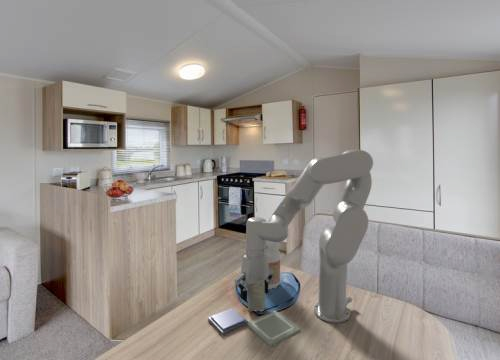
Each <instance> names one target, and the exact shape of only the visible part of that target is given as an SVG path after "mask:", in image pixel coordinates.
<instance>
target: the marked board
mask: <svg viewBox="0 0 500 360" xmlns="http://www.w3.org/2000/svg"><path fill="white" fill-rule="evenodd" d="M246 326H247V327H248V328H249V329H250V330H252V332H253V333H254V334H256V335H257V336H258V337H259V338H260V339H261V340H263V341H264V342H265V343H266V344H267V345H268V346H270V347H271V346H273V345H275V344H277V343H279V342H281V341H282V340H285V339H287V338H288V337H291V336H293V335H294V334H297V333H298V332H300V331H301V328H300V327H299V326H297V325H296V324H295V323H294V322H292V321H290V320H289V319H288V318H286V317H285V316H284V315H282V314H281V313H280V312H278V311H277V310H273V311H270V312H269V313H268V312H267V313H265V314H263V315H261V316H258V317H257V318H254V319H252V320H250V321H248V323H247V325H246Z"/></svg>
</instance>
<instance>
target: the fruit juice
mask: <svg viewBox="0 0 500 360" xmlns="http://www.w3.org/2000/svg"><path fill="white" fill-rule="evenodd" d="M266 246H268V249H267V250H266V254H267V257H268V266H269V268H272V269H274V272H273V275H272V278H271V279H270V283H268V288H270V289H269V290H273V289H272V288H275V289H277V288H278V287H277V286H278V285H279V284H280V283H281V253H280V246H281V242H272V241H268V240H267V242H266ZM279 286H280V285H279ZM276 287H277V288H276Z"/></svg>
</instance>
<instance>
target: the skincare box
mask: <svg viewBox="0 0 500 360" xmlns="http://www.w3.org/2000/svg"><path fill="white" fill-rule="evenodd" d="M265 294H266V293H265V282H264V279H262V280H259V281H256V283H254V284H251V285H249V286H248V287H247V311H248V312H251V313H253V312H252V311H253V310H262V311H264V310H265V309H266V304H265V303H266V302H265V301H266V300H265V299H266V298H265V297H266V295H265ZM264 312H265V311H264Z"/></svg>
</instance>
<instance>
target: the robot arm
mask: <svg viewBox="0 0 500 360" xmlns="http://www.w3.org/2000/svg"><path fill="white" fill-rule="evenodd" d="M373 167H374V160H373V157H372V156H371V154H370V153H369V152H367V151H366V150H363V149H347V150H345V151H343V152H342V153H341V154H337V155H332V156H329V157H328V156H327V157H315V158H313V159H311V161H310V162H309V163H308V164H307V165H306V167H305V168H304V170H303V171H302V172H301V173H300V176H298V179H297V180H296V181H295V182H294V184H293V185H292V187H291V189H290V190H288V192H287V194H286V195H285V196H284V198H283V199H282V200H281V202H280V203H279V204H278V206H277V207H276V209H275V210H274V212H273V213H272V214H271V216H270V217H269V219H268V221H267V220H266V219H265V218H263V217H259V216H257V217H256V216H255V217H249V218H248V219H247V221H246V223H245V224H246V225H245V226H246V227H245V228H246V231H245V254H244V255H243V257H242V261H241V267H240V268H241V269H240V274H239V275H237V277H236V278H235V279H234V282H235V284H236V286H237V287H238V288H239V289H240V298H241V300H243V301H244V302H248V286H249V285H251V284H254V283H256V281H259V280H262V279H264V282H265V294H266V295H268V294H269V289H268V283H270V279H271V278H272V275H273V272H274V269H272V268H269V266H268V257H267V254H266V250H267V249H268V246H266V242H267V240H268V241H272V242H280V243H282V242H284V241H286V240H287V238H288V237H289V226H290V224H291V223H292V221H293V219H294V218H295V217H296V215H298V213H299V212H300V211H301V210H303V209H305V208H307V207H309V206H310V205H311V204H312V202H313V201H314V199H315V198H316V197H317V195H318V194H319V192H321V189H322V188H323V187H324V186H325V185H330V184H335V183H336V184H337V183H340V182H341V183H342V182H344V181H345V182H344V185H343V186H344V187H343V189H342V192H341V194H340V195H339V198H338V201H337V203H336V205H335V207H334V209H333V212H332V219H333V221H334V222H335V225H334V227H333V226H332V227H331V226H330V227H327V228H325V229H323V231H322V232H321V234H320V236H319V240H318V248H319V249H318V250H319V269H318V302H317V303H315V304H314V306H313V312H314V314H315V315H316V316H317V317H318V318H319V319H321V320H322V321H326V322H328V323H332V324H340V323H344V322H346V320H349V319H350V317H351V316H350V315H351V312H350V310H349V308H348V307H347V306H348V304H351V303H352V302H353V298H352V297H351V296H348V297H347V275H348V264H349V263H351V262H352V261H353V260H354V258H355V256H356V254H357V252H358V250H359V249H360V246H361V244H362V241H363V239H364V238H365V235H366V234H367V230H368V226H369V216H368V214H367V212H366V211H365V210H364V208H365V206H366V203H367V200H368V198H369V196H370V193H371V189H372V184H373V183H372V181H373V180H372V174H371V172H372V171H371V170H372V169H373Z"/></svg>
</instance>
